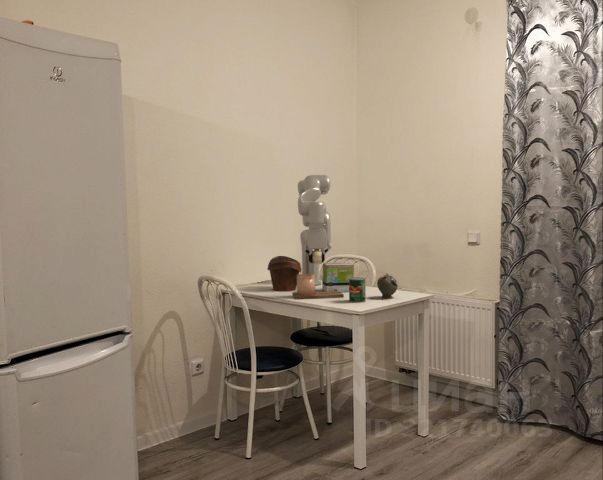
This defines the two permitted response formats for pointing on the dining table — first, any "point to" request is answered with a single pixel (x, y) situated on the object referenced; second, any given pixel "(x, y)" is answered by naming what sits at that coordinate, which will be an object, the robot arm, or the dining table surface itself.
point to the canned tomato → (357, 290)
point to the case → (284, 273)
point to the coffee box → (337, 276)
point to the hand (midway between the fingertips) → (316, 262)
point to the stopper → (316, 256)
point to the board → (320, 295)
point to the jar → (305, 284)
